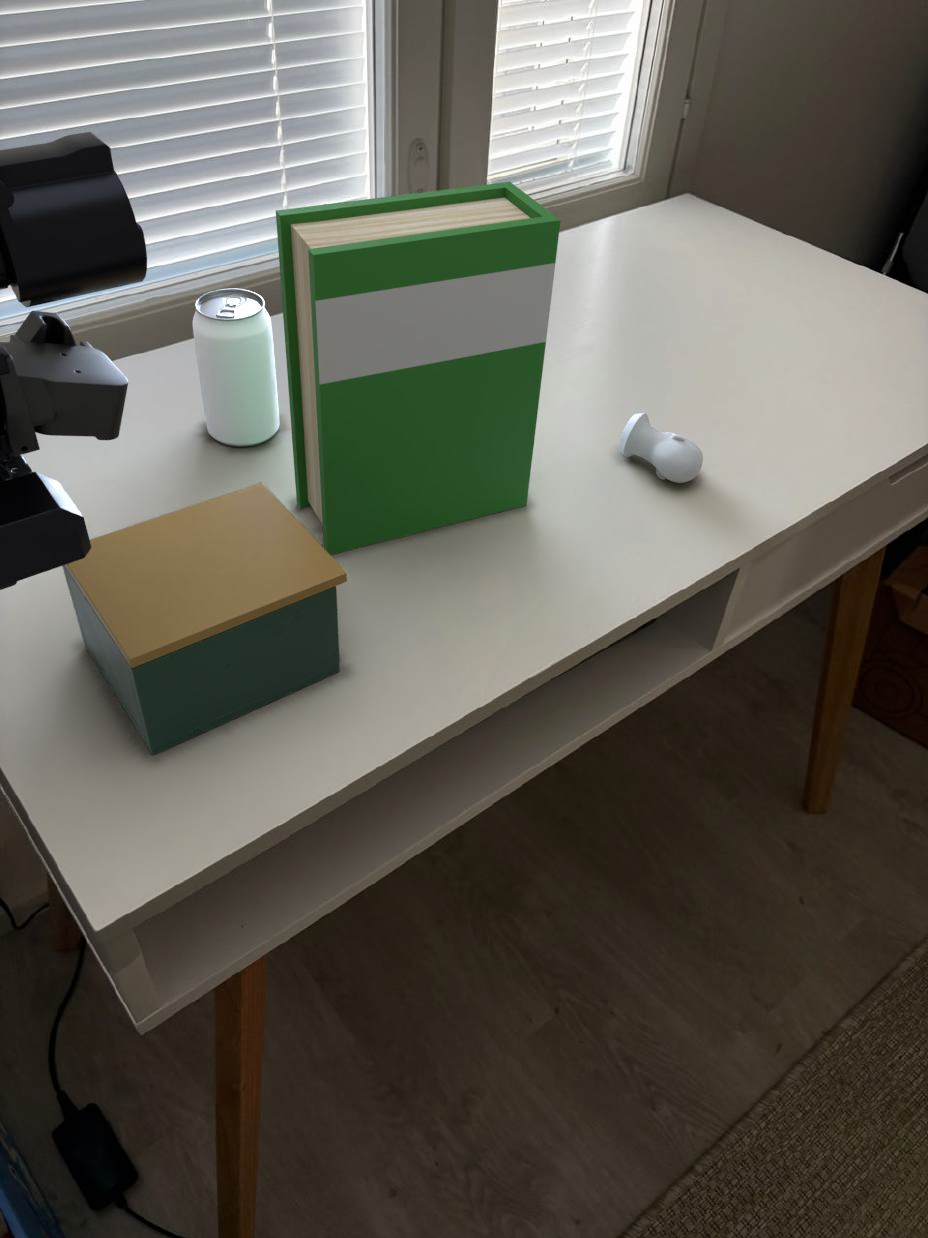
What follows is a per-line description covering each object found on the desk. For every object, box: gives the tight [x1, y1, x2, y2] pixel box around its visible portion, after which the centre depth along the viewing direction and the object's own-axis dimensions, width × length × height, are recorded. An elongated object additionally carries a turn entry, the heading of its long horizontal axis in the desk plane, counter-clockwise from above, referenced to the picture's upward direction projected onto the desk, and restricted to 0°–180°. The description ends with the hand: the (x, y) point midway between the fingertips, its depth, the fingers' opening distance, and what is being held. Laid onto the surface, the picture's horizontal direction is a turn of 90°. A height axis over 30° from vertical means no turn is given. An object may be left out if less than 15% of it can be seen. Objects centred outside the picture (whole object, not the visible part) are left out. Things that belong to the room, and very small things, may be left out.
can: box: [192, 288, 280, 448], centre depth 87 cm, size 6×6×12 cm
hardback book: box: [275, 181, 561, 556], centre depth 76 cm, size 18×7×24 cm, turn 116°
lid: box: [64, 481, 348, 668], centre depth 64 cm, size 14×12×1 cm
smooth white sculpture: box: [618, 412, 704, 484], centre depth 89 cm, size 4×8×5 cm
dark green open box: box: [61, 565, 341, 756], centre depth 67 cm, size 14×12×8 cm
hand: (5, 584), depth 57 cm, fingers closed
